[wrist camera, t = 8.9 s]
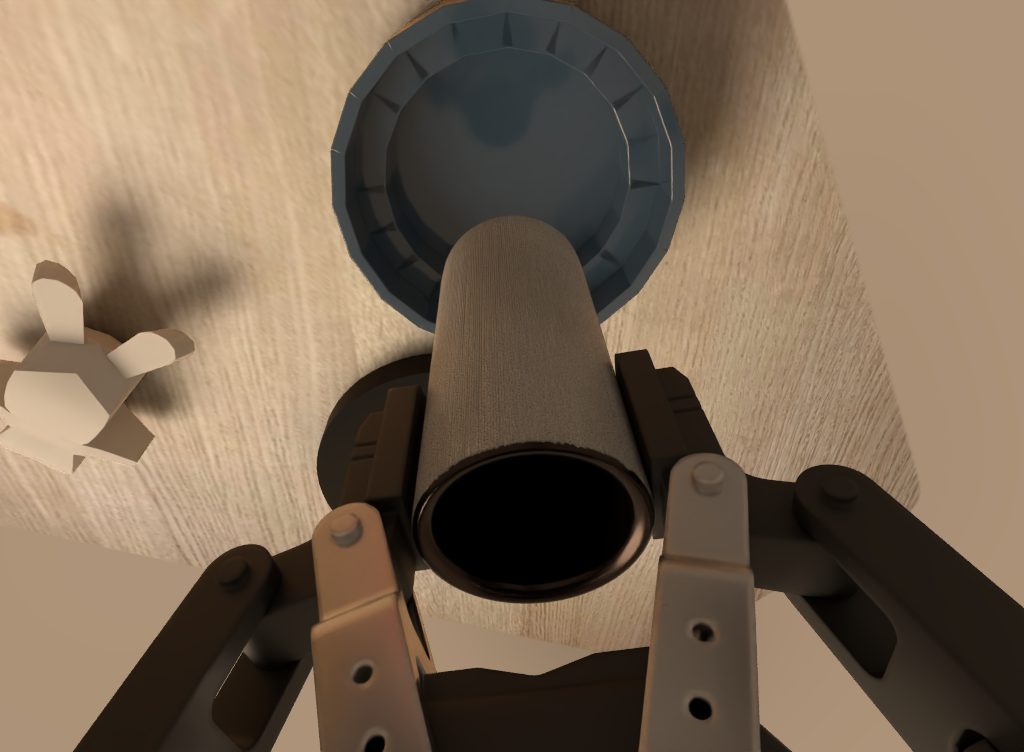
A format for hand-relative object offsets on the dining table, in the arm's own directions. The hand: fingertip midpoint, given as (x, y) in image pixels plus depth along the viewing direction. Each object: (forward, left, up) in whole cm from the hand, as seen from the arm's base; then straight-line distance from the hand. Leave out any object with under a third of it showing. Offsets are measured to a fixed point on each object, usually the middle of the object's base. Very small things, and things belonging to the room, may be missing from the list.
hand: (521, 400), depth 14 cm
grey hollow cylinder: (0, 0, -7) cm, 7 cm away
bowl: (0, 0, -19) cm, 19 cm away
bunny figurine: (+7, -26, -19) cm, 33 cm away
